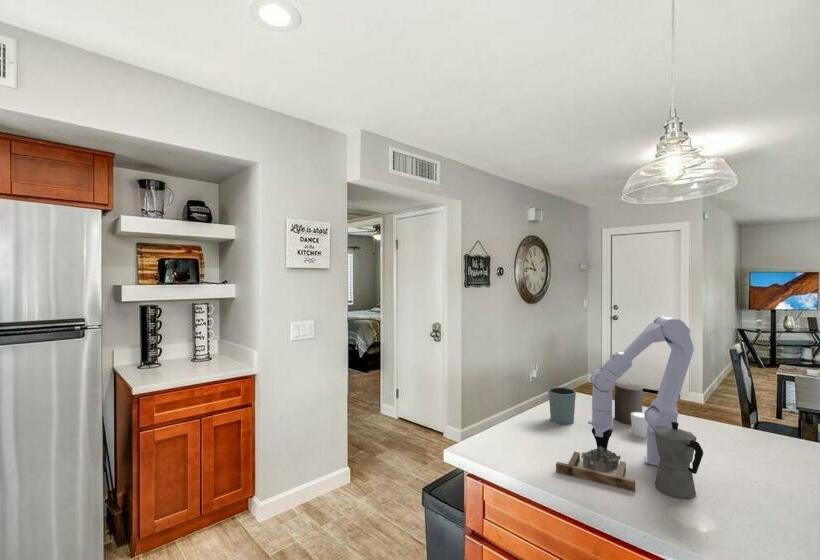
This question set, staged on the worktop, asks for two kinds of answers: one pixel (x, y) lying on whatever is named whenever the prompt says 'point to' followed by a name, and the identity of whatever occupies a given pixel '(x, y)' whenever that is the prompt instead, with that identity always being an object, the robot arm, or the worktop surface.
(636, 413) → the shot glass
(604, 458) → the egg carton
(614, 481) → the walnut bracket
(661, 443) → the coffeepot
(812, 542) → the worktop surface
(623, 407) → the pillar candle
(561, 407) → the teal grey cup
